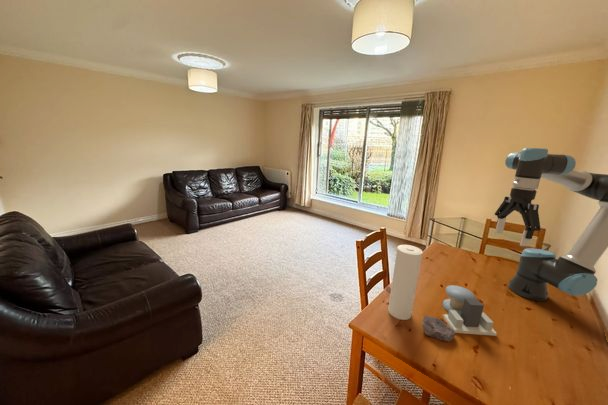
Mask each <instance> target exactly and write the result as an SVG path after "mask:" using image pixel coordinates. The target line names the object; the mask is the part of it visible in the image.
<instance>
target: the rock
mask: <svg viewBox="0 0 608 405" xmlns="http://www.w3.org/2000/svg"><path fill="white" fill-rule="evenodd" d="M421 325H422V331H423V333H424V334H425V335H426V336H428V337H432V338H435V339H437V340H441V341H445V342H451V341H452V340H454V338H456V333H455V331H454V329H452V328H451V327H450V326H449V325H448V324H446V323H445V322H444V321H443V320H442V319H440V318H438V317H433V316H431V315H430V316H429V315H425V316H423V317H422V324H421Z"/></svg>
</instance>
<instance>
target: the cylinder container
mask: <svg viewBox="0 0 608 405" xmlns="http://www.w3.org/2000/svg"><path fill="white" fill-rule="evenodd" d="M423 253H424V252H423V250H422V249H421V248H420V247H417V246H414V245H410V244H399V245H398V246H397V248H396V254H395V255H396V256H395V259H394V267H393V272H392V273H393V274H392V281H391V288H390V294H389V300H388V301H389V302H388V308H387V312H388V314H390V315H391V316H392V317H394V318H395V319H398V320H403V321H405V320H406V321H407V320H409V319H411V317H412V314H413V313H412V312H413V308H414V304H415V303H414V302H415V296H416V291H417V285H418V280H419V274H420V269H421V263H422V258H423Z"/></svg>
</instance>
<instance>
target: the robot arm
mask: <svg viewBox="0 0 608 405" xmlns="http://www.w3.org/2000/svg"><path fill="white" fill-rule="evenodd" d="M504 164H505V167H506V168H508V169H511V170H515V174H514V179H513V182H512V188H510V189H511V190H510V193H509V196H505V197H504V199H503V201H502V203H501V204H499V207H498V208H497V210H496V211H495V212H494V216H497V217H496V218H497V220H496V227H495V231H494V233H495V234H503V233H504V228H505V225H506V221H507V217H508V216H509V215H510V214H511V213H513V212H514V211H516V212H518V213H519V214H520V215H521V218H522V220H523V223H524V226H525V229H523V231H522V235H521V239H520V243H519V246H520V247H527V248H524V249H523V250H522V252H521V255H520V256H519V261H518V266H517V268H516V269H517V270H516V272H515V274H514V276H513V277H512V278H511V279H510V280H509V281H508V285H507V287H508V289H509V290H510V291H511V292H512V293H514V294H517V296H520V297H523V298H525V299H528V300H532V301H538V302H545V301H547V300H548V296H549V293H548V285H547V284H549V285H550V286H553V287H554V288H556V289H558V290H559V291H561V292H564V293H566V294H568V295H570V296H575V297H580V296H583V295H584V296H585V295H587V294H588V293H589V294H590V292H592V291H593V290H594V289H595V288H596V286H597V284H598V278H597V276H595V274H596V273H597V270H596V269H595V265H596V264H597V262H598V261H599V260H600V259H601V257H602V255H604V253H605V251H606V250H607V249H608V174H605V173H604V174H603V173H593V172H588V171H587V170H586V171H585V170H576V169H575V168H576V164H577V162H576V159H575V158H574V156H572V155H569V154H563V153H562V154H558V153H556V154H553V153H549V149H547V148H543V147H542V148H540V147H538V148H537V147H525V148H523V149H522V150H521V151H517V152H515V151H514V152H511V153H508V155H507V157H506V158H505V160H504ZM541 179H545V180H546V181H550V182H553V183H556V184H559V185H561V186H564V187H565V188H566V190H567V189H568V190H569V191H571V192H574V193H576V194H579V195H581V196H584V197H587V198H590V199H592V200H596V201H598V202H597V204H598V205H599V209H598V211H597V212H596V213H595V214H594V216H593V218H592V219H591V220H590V222H589V223H587V226H586V227H585V229H584V230H583V232H581V235H580V236H579V237H578V239H577V240H575V243H574V244H573V245H572V247H571V248H570V250H569V251H568V252H567V254H565V255H560V256H559V257H558V258H556V257H557V256H556V255H557V254H555V252H552V251H550V250H546V249H545V250H544V249H540V248H534V247H533V248H532V247H529V245H530V243H531V240H532V239H533V237H534V233H535V232H540V231H541V229H542V228H541V221H540V216H539V208H540V205H539V204H537V203H536V204H535V203H532V201H534V200H535V199H536V196H537V193H538V191H537V190H538V188H539V185H540V183H541V182H540V181H541ZM528 247H529V248H528Z"/></svg>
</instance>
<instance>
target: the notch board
mask: <svg viewBox="0 0 608 405" xmlns="http://www.w3.org/2000/svg"><path fill="white" fill-rule="evenodd" d="M442 318H443V319H444V320H445V322H446V323H447V326H448V327H450V328H452V329H454V331H455V334H465V335H466V334H469V335H479V336H483V335H484V336H493V337H494V336H495V337H497V332H496V331H495V329H494V328H493V327H494V321H493V320H492V319H491V318H490V317H489V316H488V315H487V313H485V312H483V311H482V315H481V319H480V323H479V327H466V326H465V325H464V324H463V321H464V320H463V319H462V318H461V316H460V315H459V314H458V313H457V312H456V310H449V312H448V314H447V313H446V314H442Z"/></svg>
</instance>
